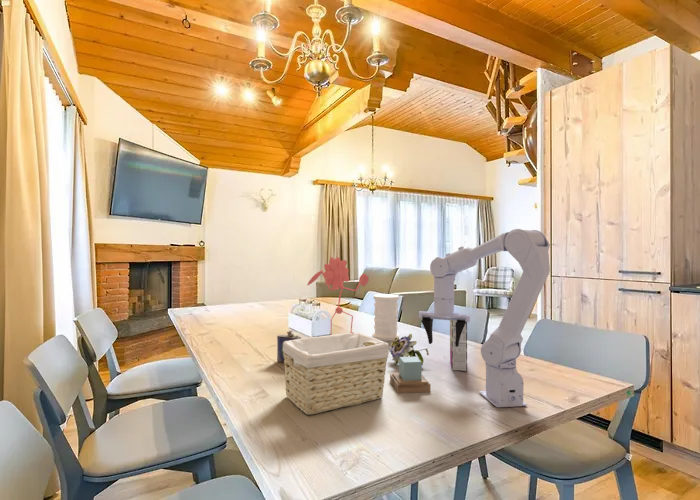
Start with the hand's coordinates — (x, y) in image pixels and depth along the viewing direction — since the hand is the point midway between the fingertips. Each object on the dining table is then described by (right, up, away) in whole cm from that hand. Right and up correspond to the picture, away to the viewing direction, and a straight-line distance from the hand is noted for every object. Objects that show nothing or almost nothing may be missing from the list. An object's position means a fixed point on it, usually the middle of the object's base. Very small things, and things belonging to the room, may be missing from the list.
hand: (443, 344), depth 112 cm
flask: (-48, -10, +15) cm, 51 cm away
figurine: (-33, -10, +35) cm, 49 cm away
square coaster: (-11, -10, -6) cm, 16 cm away
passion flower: (-8, -10, +15) cm, 20 cm away
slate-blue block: (-11, -8, -6) cm, 14 cm away
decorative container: (-12, -10, +52) cm, 54 cm away
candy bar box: (+8, -11, +13) cm, 18 cm away
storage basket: (-31, -11, -14) cm, 36 cm away
